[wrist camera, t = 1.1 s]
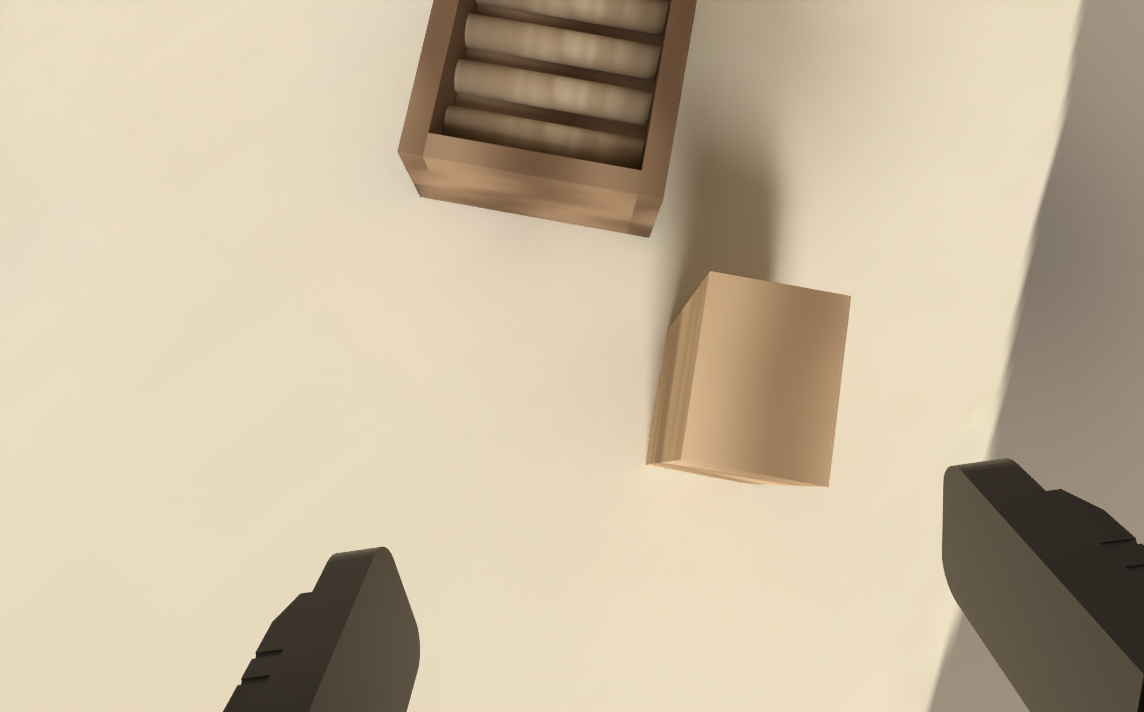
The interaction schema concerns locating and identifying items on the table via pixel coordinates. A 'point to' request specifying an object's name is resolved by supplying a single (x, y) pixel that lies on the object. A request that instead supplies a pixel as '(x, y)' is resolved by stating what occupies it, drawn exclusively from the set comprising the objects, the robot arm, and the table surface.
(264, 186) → the table surface
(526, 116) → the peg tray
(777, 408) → the shelf block
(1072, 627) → the robot arm
